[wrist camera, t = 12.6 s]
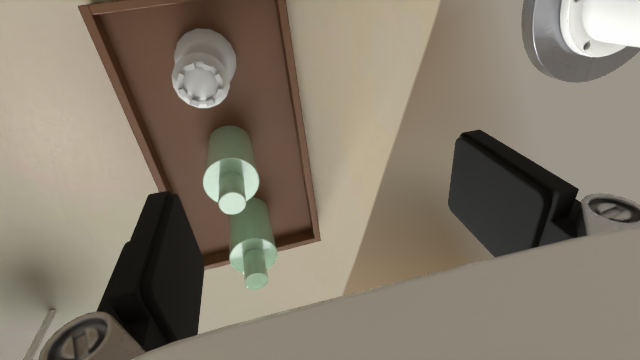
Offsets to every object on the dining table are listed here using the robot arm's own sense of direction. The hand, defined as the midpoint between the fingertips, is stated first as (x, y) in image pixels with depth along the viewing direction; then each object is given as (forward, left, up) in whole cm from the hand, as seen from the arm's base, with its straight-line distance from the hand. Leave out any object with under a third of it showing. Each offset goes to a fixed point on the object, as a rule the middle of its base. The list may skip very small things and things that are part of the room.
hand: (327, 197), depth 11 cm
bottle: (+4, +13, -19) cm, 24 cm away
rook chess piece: (+4, -2, -19) cm, 20 cm away
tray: (+4, +6, -20) cm, 21 cm away
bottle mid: (+4, +6, -19) cm, 21 cm away
